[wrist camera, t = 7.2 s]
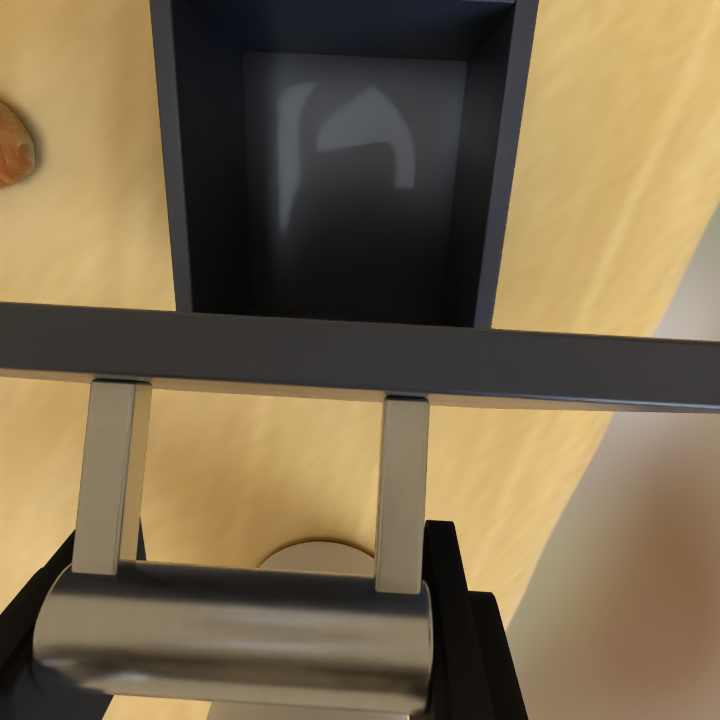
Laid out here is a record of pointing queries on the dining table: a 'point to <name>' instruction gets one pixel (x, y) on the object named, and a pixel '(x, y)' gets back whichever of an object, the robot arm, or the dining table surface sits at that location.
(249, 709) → the cylinder vase
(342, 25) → the bin
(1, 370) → the bin lid
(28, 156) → the pastry
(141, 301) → the dining table surface
